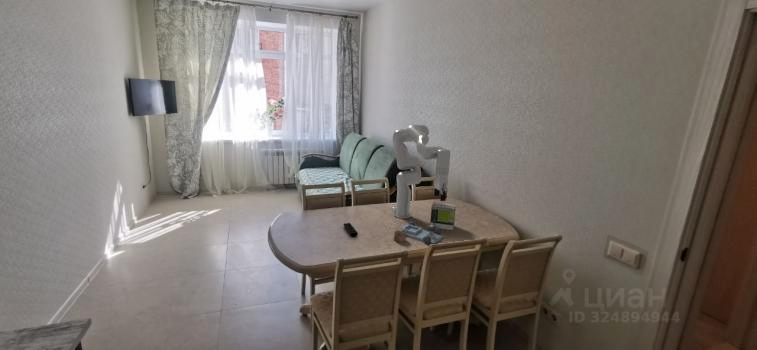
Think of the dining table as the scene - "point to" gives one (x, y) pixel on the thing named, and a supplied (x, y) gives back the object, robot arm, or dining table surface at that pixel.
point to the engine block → (400, 235)
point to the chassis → (422, 233)
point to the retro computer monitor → (443, 215)
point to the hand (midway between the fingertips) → (439, 198)
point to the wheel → (431, 228)
